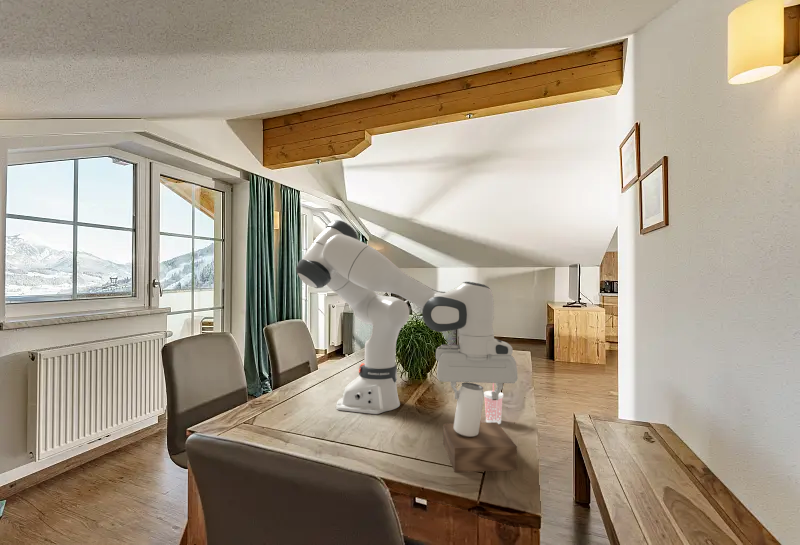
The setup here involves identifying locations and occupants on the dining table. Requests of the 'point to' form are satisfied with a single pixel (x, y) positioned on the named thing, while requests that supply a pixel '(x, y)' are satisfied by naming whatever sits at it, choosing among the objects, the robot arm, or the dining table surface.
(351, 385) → the robot arm
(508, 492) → the dining table surface
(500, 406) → the beverage cup
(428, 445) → the dining table surface
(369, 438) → the dining table surface
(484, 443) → the riser block
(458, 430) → the can
